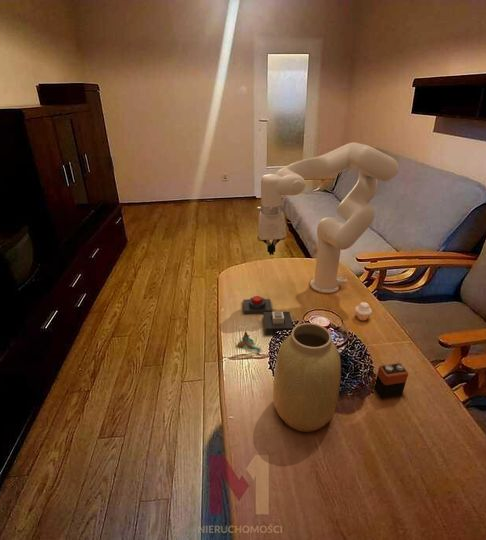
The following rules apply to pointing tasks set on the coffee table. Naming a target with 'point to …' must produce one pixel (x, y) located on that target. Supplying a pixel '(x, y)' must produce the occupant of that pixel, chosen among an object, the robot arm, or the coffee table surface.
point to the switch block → (256, 306)
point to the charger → (277, 317)
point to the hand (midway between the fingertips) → (271, 253)
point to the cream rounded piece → (363, 311)
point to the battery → (391, 380)
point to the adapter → (273, 328)
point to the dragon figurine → (247, 341)
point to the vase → (307, 378)
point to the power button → (257, 299)
